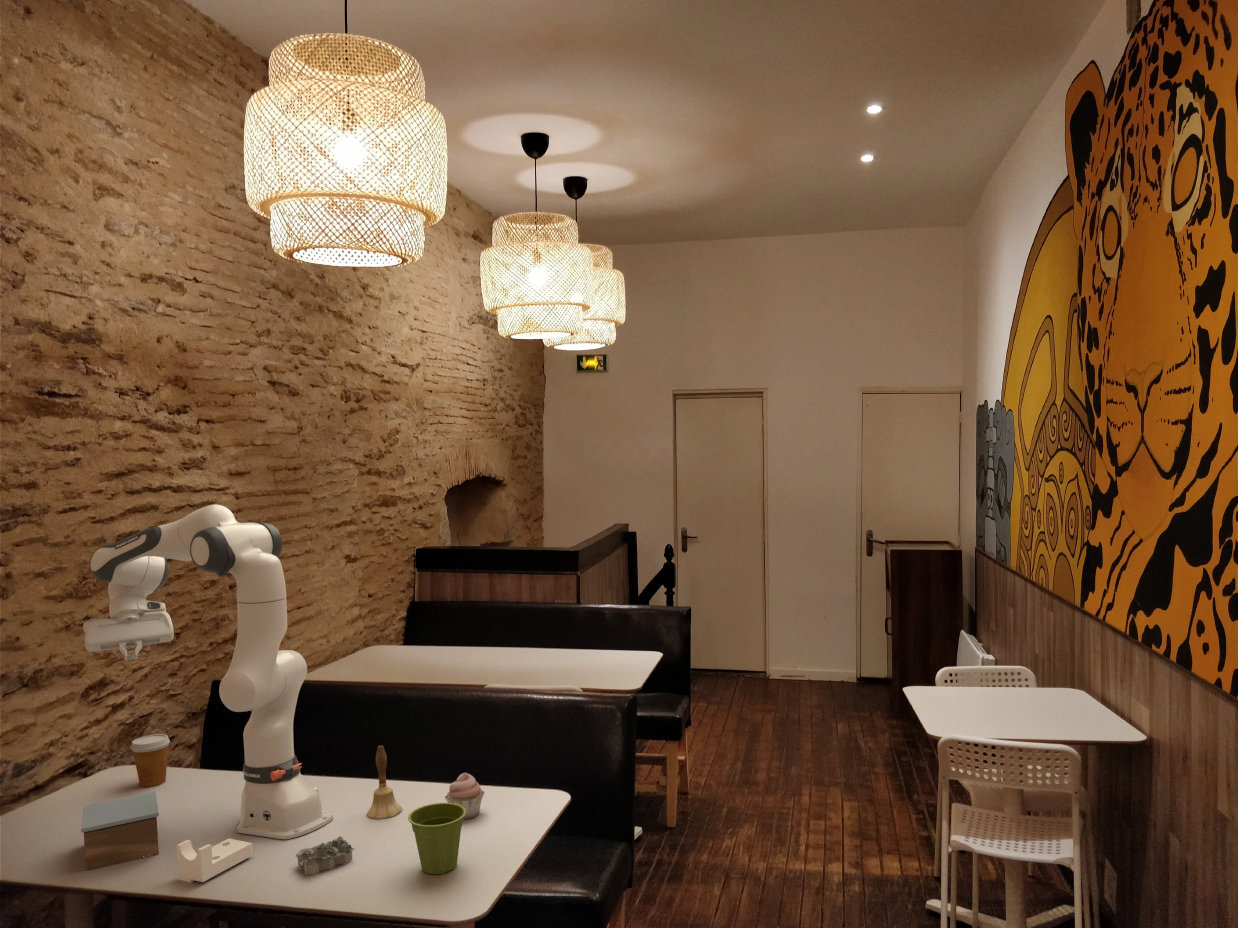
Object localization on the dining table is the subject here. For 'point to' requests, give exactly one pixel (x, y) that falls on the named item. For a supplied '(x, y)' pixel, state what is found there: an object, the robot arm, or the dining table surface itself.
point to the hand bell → (383, 792)
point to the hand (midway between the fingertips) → (131, 658)
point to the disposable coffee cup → (151, 759)
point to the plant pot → (437, 835)
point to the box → (121, 843)
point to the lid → (119, 811)
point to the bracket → (210, 859)
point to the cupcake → (466, 794)
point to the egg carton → (324, 856)
